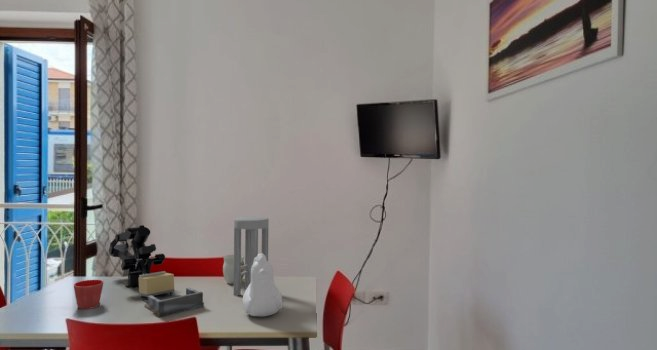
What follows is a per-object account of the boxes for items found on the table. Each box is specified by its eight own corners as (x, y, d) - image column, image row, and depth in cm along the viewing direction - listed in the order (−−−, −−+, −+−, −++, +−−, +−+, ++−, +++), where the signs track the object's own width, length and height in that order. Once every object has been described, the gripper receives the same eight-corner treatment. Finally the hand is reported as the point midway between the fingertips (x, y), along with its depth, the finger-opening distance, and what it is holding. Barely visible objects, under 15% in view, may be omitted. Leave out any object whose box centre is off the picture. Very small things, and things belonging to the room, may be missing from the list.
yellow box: (138, 297, 185) (138, 274, 185) (165, 291, 194) (165, 270, 194) (147, 302, 178) (147, 279, 178) (174, 296, 187) (174, 274, 187)
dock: (131, 302, 182) (131, 286, 182) (173, 293, 196) (173, 278, 195) (158, 319, 162) (158, 301, 162) (203, 308, 175) (203, 292, 175)
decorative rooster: (280, 322, 158) (281, 256, 158) (238, 322, 158) (239, 256, 157) (284, 301, 183) (284, 244, 183) (248, 301, 182) (248, 244, 182)
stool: (227, 295, 190) (227, 219, 189) (246, 287, 204) (246, 215, 204) (256, 300, 184) (257, 221, 183) (273, 290, 198) (274, 217, 198)
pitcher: (250, 277, 222) (250, 251, 222) (239, 287, 204) (239, 259, 204) (230, 276, 223) (230, 251, 223) (217, 286, 205) (217, 258, 205)
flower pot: (109, 303, 177) (109, 280, 177) (86, 311, 167) (87, 287, 167) (90, 300, 181) (90, 278, 181) (67, 308, 170) (67, 284, 170)
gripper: (123, 241, 189) (132, 269, 182) (164, 236, 202) (173, 263, 195) (117, 255, 195) (125, 284, 187) (157, 250, 208) (166, 276, 200)
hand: (148, 276), depth 192 cm, fingers closed
